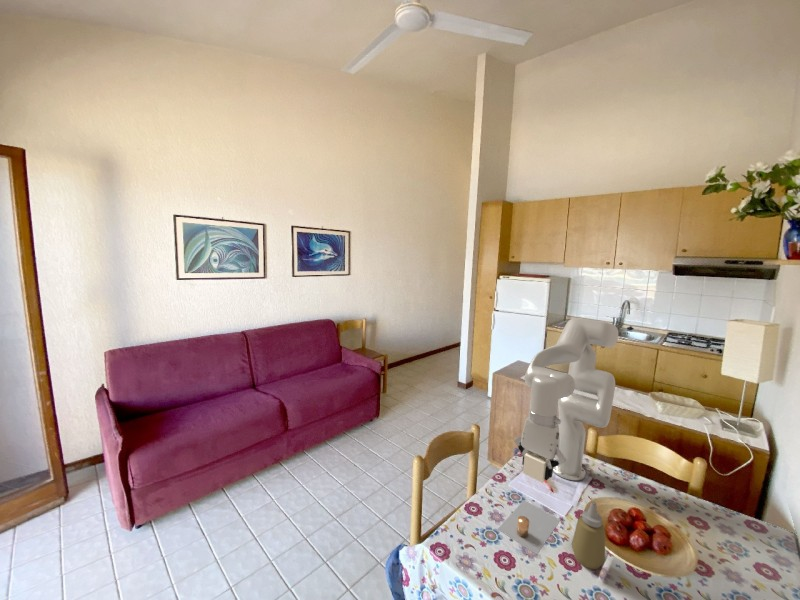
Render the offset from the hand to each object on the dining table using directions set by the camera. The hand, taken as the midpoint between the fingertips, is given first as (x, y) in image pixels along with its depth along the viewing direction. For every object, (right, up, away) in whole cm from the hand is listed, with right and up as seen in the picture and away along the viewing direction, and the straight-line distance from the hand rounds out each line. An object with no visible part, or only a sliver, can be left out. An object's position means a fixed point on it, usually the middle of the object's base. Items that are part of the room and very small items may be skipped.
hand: (536, 472), depth 104 cm
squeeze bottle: (+10, -20, -10) cm, 25 cm away
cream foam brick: (0, 0, 0) cm, 0 cm away
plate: (-2, -18, +1) cm, 18 cm away
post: (-5, -17, -2) cm, 18 cm away
